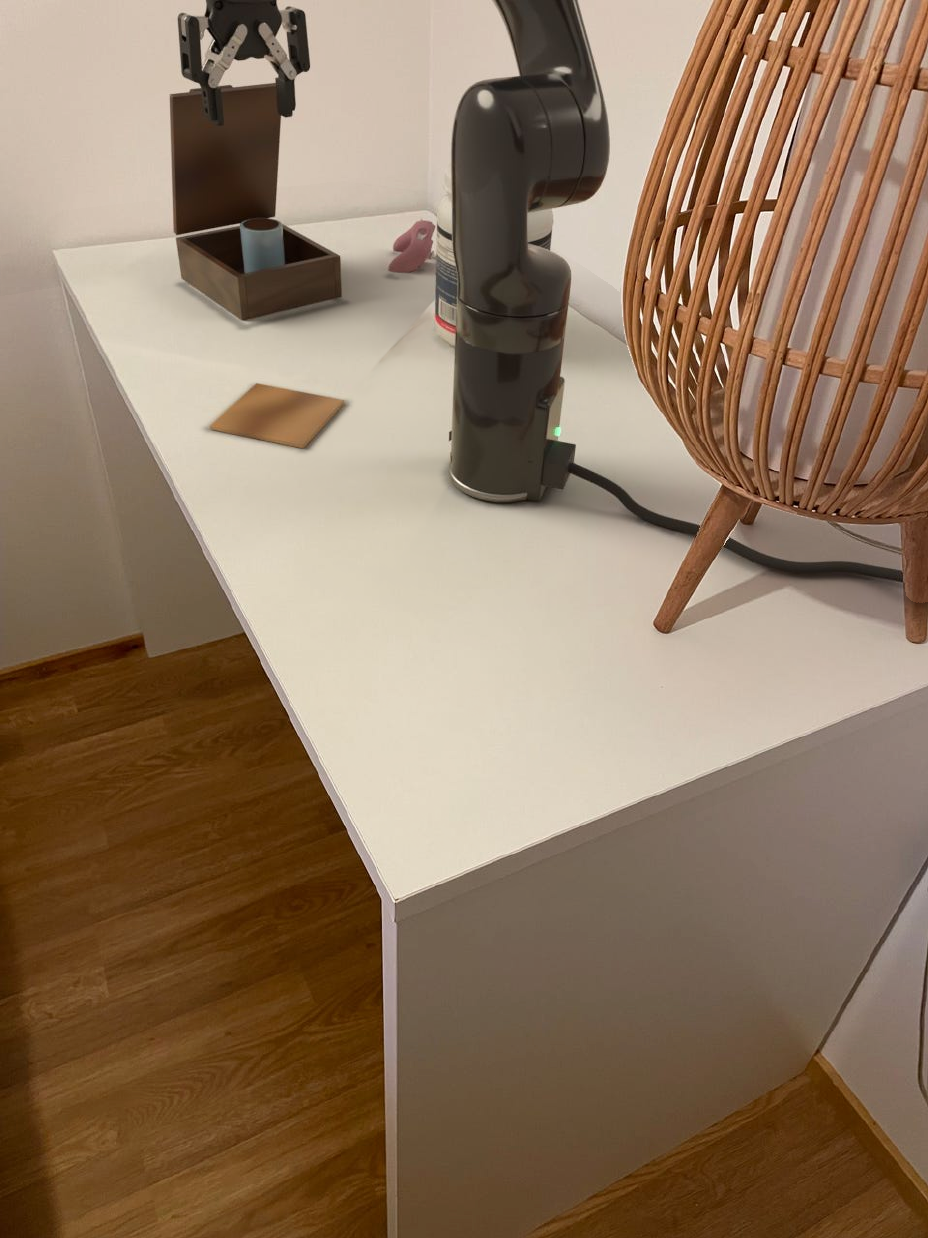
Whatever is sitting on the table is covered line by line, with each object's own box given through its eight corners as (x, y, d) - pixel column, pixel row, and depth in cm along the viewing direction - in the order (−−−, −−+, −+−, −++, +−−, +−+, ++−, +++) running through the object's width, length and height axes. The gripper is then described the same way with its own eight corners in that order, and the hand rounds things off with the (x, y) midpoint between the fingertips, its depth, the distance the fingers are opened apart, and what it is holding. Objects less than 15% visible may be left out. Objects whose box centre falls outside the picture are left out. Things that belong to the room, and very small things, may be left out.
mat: (344, 403, 101) (344, 399, 101) (303, 448, 93) (303, 444, 93) (256, 386, 103) (256, 382, 103) (209, 429, 95) (209, 425, 95)
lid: (283, 84, 113) (261, 65, 115) (172, 97, 106) (152, 75, 108) (275, 216, 126) (256, 196, 128) (176, 235, 119) (157, 213, 121)
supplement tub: (545, 319, 120) (561, 160, 108) (538, 364, 110) (555, 194, 98) (441, 310, 121) (446, 150, 109) (425, 354, 111) (429, 183, 99)
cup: (294, 286, 122) (289, 220, 117) (276, 301, 118) (270, 233, 113) (257, 280, 123) (251, 214, 118) (239, 294, 119) (231, 226, 114)
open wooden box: (342, 303, 121) (340, 255, 117) (242, 327, 114) (237, 277, 110) (277, 264, 130) (274, 218, 127) (182, 284, 123) (175, 237, 120)
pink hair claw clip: (416, 291, 129) (441, 244, 125) (385, 274, 128) (409, 226, 124) (419, 264, 137) (443, 219, 133) (390, 248, 135) (413, 202, 131)
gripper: (188, -50, 92) (209, 135, 103) (317, -54, 99) (324, 120, 110) (154, -60, 97) (177, 119, 107) (279, -63, 104) (290, 105, 114)
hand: (252, 119), depth 108 cm, fingers open, 8 cm apart
